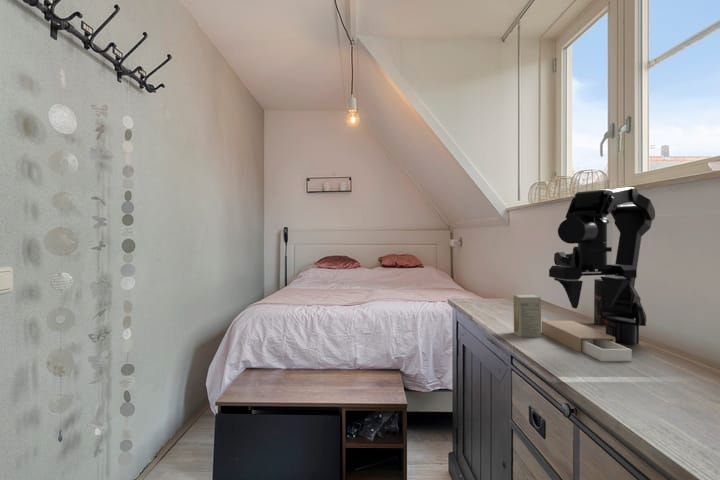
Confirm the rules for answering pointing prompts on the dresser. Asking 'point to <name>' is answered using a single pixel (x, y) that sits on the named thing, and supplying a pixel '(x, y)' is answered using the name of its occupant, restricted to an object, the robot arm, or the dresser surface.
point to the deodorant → (597, 296)
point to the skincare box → (527, 315)
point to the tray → (606, 350)
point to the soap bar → (588, 340)
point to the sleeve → (572, 333)
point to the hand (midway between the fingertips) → (591, 307)
